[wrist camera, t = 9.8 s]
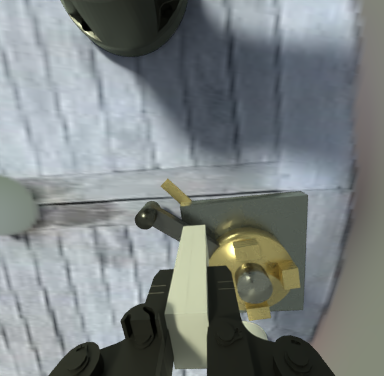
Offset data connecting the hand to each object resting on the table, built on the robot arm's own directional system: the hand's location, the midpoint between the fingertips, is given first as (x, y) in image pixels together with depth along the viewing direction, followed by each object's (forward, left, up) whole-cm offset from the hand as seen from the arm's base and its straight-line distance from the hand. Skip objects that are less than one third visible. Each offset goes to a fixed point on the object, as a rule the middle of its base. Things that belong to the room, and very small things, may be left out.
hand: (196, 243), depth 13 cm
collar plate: (+10, +4, -16) cm, 20 cm away
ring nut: (+9, +1, -14) cm, 17 cm away
